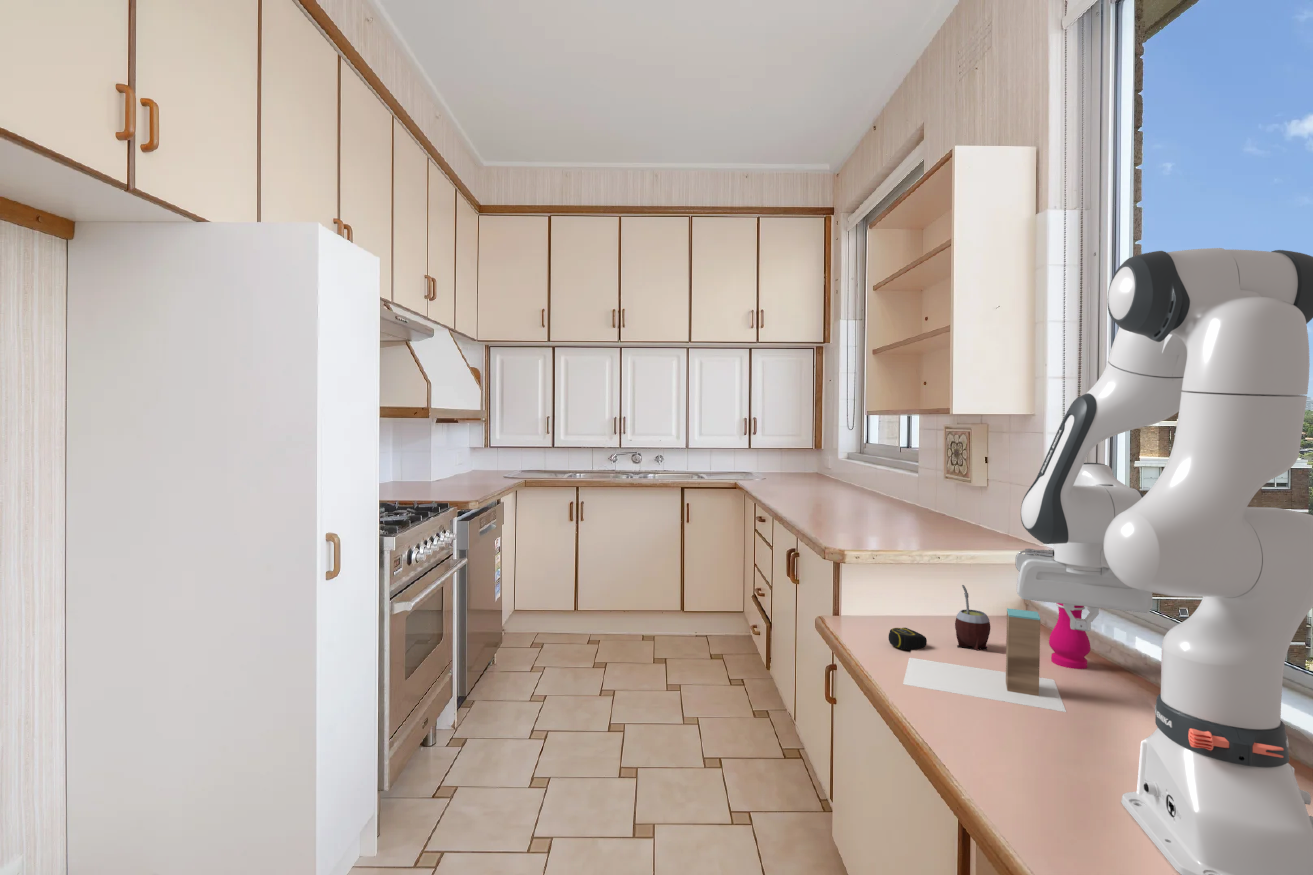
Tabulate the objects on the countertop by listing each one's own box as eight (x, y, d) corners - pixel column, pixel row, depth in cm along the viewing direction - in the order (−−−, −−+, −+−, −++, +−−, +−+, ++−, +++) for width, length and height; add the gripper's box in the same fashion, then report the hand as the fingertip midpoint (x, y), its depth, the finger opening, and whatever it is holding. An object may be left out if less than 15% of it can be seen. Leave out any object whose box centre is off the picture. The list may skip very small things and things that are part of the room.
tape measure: (928, 651, 141) (928, 634, 141) (902, 654, 139) (902, 636, 138) (907, 641, 147) (907, 625, 147) (881, 644, 145) (882, 627, 145)
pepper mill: (1093, 665, 133) (1095, 569, 133) (1086, 674, 127) (1088, 574, 127) (1052, 656, 138) (1054, 563, 138) (1044, 665, 132) (1046, 568, 132)
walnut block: (1038, 696, 115) (1040, 618, 115) (1007, 690, 118) (1008, 614, 118) (1035, 686, 120) (1037, 611, 120) (1005, 681, 122) (1007, 608, 122)
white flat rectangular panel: (1066, 714, 109) (1066, 711, 109) (902, 686, 120) (903, 684, 120) (1053, 682, 123) (1054, 679, 123) (909, 659, 135) (909, 657, 135)
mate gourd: (982, 643, 146) (983, 578, 146) (997, 655, 138) (998, 586, 138) (948, 642, 146) (949, 576, 146) (961, 654, 139) (962, 585, 138)
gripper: (1017, 550, 116) (1015, 625, 117) (1156, 562, 108) (1154, 643, 108) (1014, 544, 122) (1012, 616, 122) (1146, 555, 113) (1144, 633, 114)
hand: (1080, 629), depth 115 cm, fingers closed
